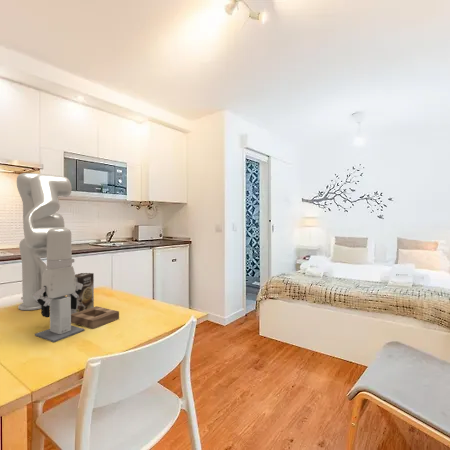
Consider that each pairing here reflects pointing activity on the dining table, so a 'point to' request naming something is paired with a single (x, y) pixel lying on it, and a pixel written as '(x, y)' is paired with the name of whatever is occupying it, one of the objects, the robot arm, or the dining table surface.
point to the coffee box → (84, 292)
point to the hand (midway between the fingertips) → (59, 312)
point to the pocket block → (94, 317)
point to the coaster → (56, 337)
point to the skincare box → (60, 315)
